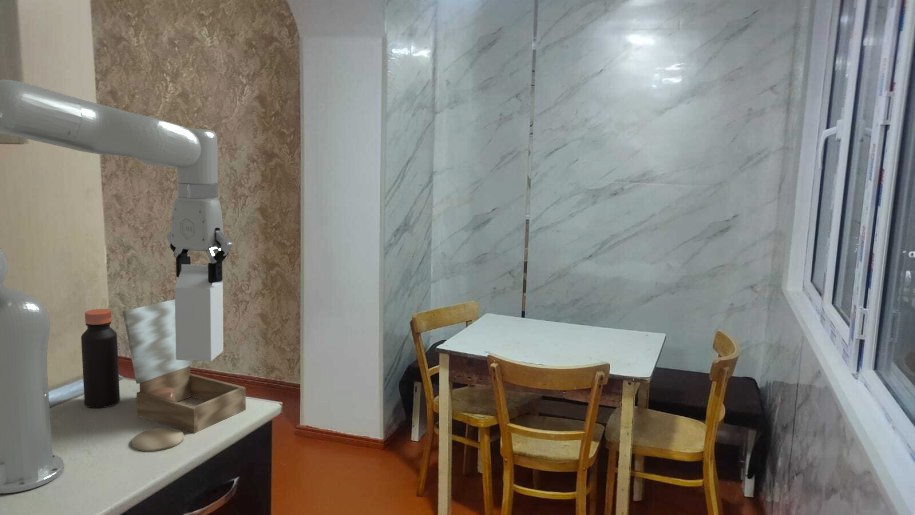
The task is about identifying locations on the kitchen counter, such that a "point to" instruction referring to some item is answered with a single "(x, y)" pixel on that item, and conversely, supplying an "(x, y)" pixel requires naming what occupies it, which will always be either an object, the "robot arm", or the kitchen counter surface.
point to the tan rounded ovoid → (165, 393)
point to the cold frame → (174, 374)
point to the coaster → (157, 439)
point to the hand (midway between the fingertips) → (199, 278)
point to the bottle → (100, 360)
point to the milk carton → (198, 315)
